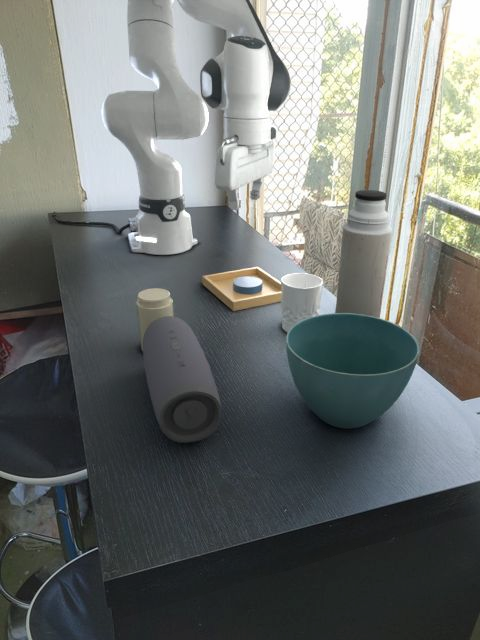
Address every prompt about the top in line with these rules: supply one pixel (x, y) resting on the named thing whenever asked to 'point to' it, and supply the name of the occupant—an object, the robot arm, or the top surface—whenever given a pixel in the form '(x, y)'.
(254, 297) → the tray
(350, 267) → the thermos bottle
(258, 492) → the top surface
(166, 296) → the jar
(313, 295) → the white cup
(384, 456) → the top surface
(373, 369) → the teal bowl
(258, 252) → the top surface
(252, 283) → the jar lid
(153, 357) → the bluetooth speaker
